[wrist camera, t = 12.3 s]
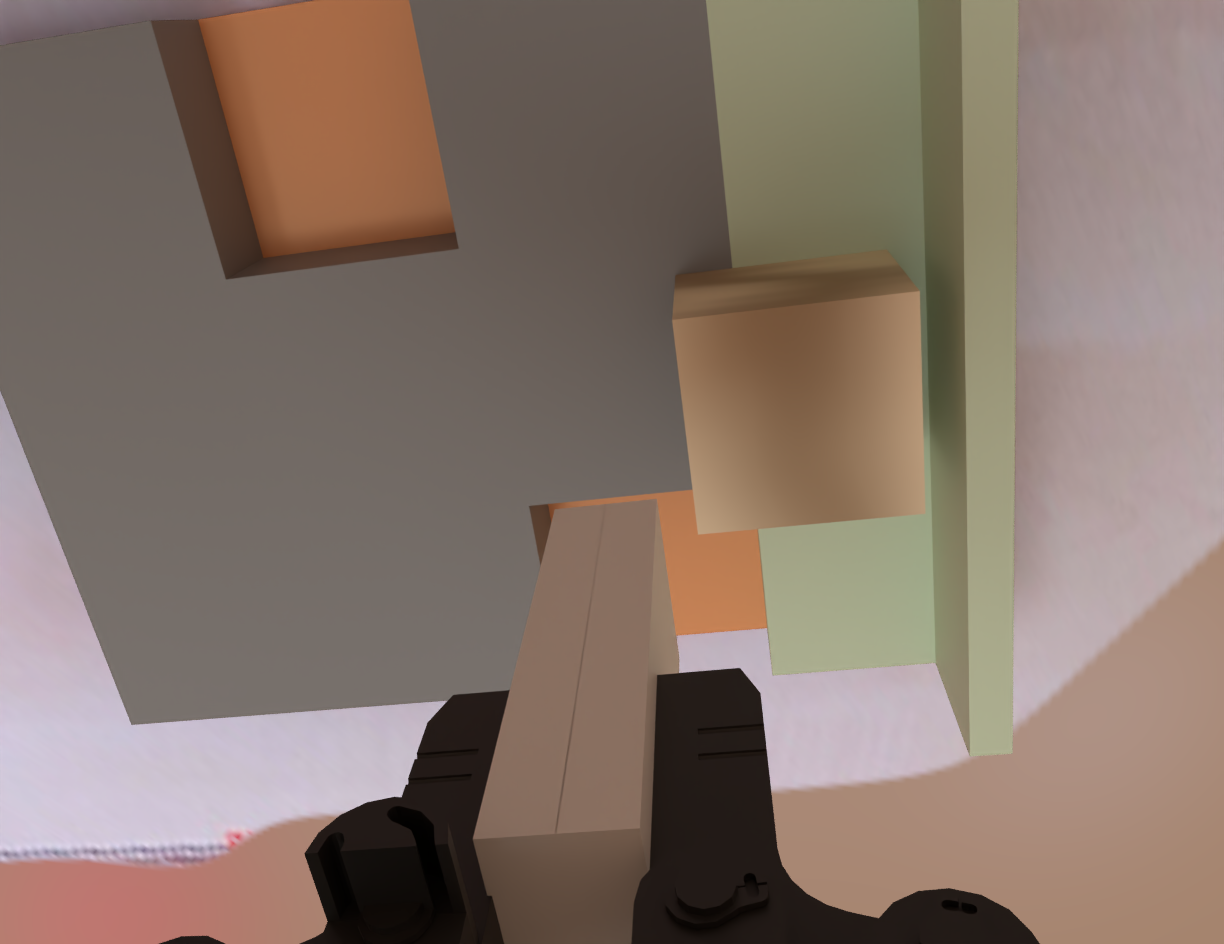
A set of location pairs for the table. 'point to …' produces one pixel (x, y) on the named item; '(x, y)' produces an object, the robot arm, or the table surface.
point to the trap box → (487, 326)
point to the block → (801, 391)
